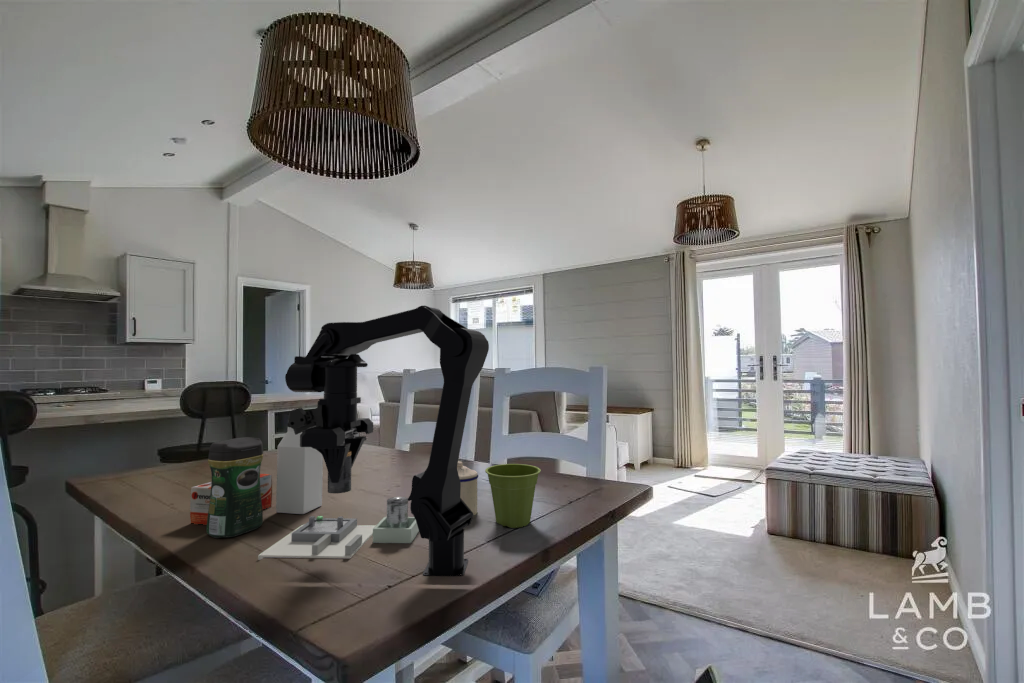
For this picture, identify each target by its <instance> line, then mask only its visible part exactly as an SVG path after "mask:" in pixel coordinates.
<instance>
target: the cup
mask: <svg viewBox="0 0 1024 683" xmlns="http://www.w3.org/2000/svg"><path fill="white" fill-rule="evenodd" d="M375 525H376V526H375V527H374V528H373V535H372V544H374V543H375V544H412V543H413V541H414V540H415V538H416V537H417V535H418V534H419V529H418V526H417V522H416V519H415V517H414V516H408V528H387V516H383V518H381V519H380V521H379V522H378V523H377V524H375Z"/></svg>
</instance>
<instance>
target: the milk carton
mask: <svg viewBox="0 0 1024 683" xmlns="http://www.w3.org/2000/svg"><path fill="white" fill-rule="evenodd" d="M286 431H287V432H286V433H285V434H284V436H283V437H282V439H281V440H280V442H279V444H278V445H276V446H277V451H276V452H277V453H276V456H277V457H276V458H277V459H276V489H275V490H276V491H275V492H276V495H275V499H276V500H275V512H276V513H280V514H281V513H282V514H296V515H305V514H307V513H309V512H311V511H312V510H315V509H317V508H319V507H321V506H322V505H323V477H324V476H323V472H324V468H323V466H324V465H323V464H324V458H323V456H322V454H321V453H320V452H319V451H317V450H316V449H313V448H312V447H300V435H301V434H302V432H301V433H299V434H297V435H295V433H294V430H293V429H292V428H291V427H288V426H287V430H286Z"/></svg>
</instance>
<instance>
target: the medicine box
mask: <svg viewBox="0 0 1024 683" xmlns="http://www.w3.org/2000/svg"><path fill="white" fill-rule="evenodd" d="M211 482H212V481H210V482H205V483H202V484H199V485H196V486H191V491H190V500H189V501H190V505H189V514H190V515H189V516H190V524H191V523H194V524H193V525H198V524H203V525H202V526H207V517H208V510H209V503H210V494H211ZM260 489H261V501H262V511H264V510H263V509H265V510H267V509H270V508H271V507H272V502H273V475H272V474H271V473H260ZM269 507H270V508H269ZM266 508H267V509H266Z"/></svg>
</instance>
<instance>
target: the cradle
mask: <svg viewBox="0 0 1024 683" xmlns="http://www.w3.org/2000/svg"><path fill="white" fill-rule="evenodd" d="M315 518H316V517H315V515H311V516H309V517H308V522H309V527H308V528H306V529H305V530H304V531H302V532H337V531H338V530H339V529H341V528H342V527H343V526H344V525H345V524H346V523H348V521H343V518H344V516H340V515H339V516H337V521H316V522H315Z"/></svg>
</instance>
